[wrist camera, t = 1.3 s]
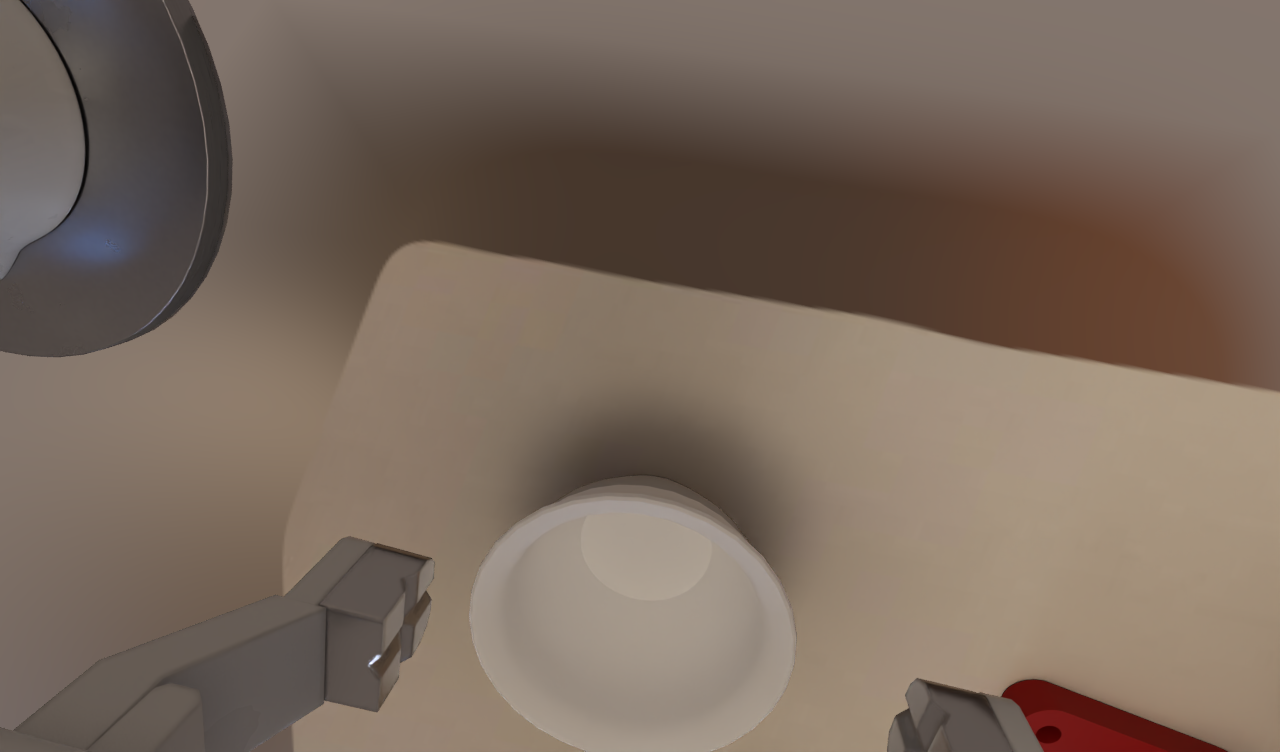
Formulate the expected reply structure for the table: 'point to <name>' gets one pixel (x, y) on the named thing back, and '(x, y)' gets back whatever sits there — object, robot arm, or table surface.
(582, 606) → the bowl
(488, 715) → the table surface
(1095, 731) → the lever
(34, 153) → the robot arm
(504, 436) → the table surface
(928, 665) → the table surface
